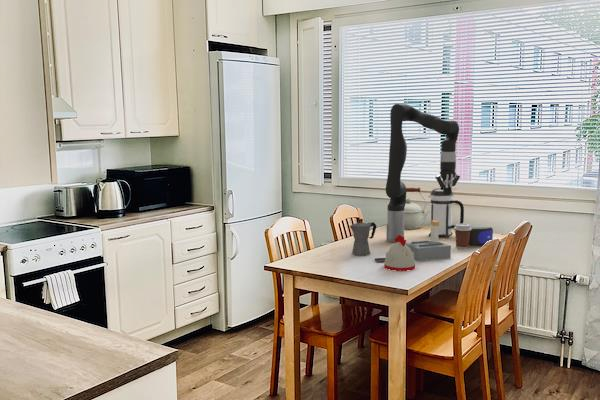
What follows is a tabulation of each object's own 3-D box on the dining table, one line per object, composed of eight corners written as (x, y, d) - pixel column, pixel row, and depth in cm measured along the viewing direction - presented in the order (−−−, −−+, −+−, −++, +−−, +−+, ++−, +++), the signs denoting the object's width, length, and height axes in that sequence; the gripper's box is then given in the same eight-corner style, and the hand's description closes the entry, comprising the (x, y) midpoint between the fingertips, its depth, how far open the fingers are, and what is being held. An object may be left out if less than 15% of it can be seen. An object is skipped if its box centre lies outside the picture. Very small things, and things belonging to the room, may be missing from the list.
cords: (376, 262, 272) (376, 260, 271) (374, 260, 276) (374, 258, 275) (410, 261, 274) (410, 258, 274) (407, 258, 278) (407, 256, 278)
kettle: (389, 229, 351) (390, 189, 348) (390, 224, 369) (390, 185, 366) (431, 230, 347) (432, 189, 344) (429, 224, 365) (430, 186, 362)
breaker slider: (434, 241, 287) (435, 220, 286) (440, 243, 282) (441, 221, 280) (427, 242, 286) (428, 220, 284) (433, 244, 281) (434, 222, 279)
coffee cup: (456, 244, 308) (457, 222, 306) (473, 246, 303) (474, 224, 301) (450, 247, 301) (451, 225, 299) (467, 249, 295) (468, 227, 294)
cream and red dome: (395, 272, 254) (395, 239, 252) (378, 265, 266) (379, 234, 264) (421, 269, 259) (421, 236, 257) (403, 262, 272) (404, 231, 270)
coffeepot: (354, 257, 282) (354, 221, 280) (345, 253, 291) (345, 218, 288) (381, 254, 289) (381, 218, 286) (371, 250, 297) (371, 216, 295)
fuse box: (435, 251, 293) (435, 238, 292) (450, 257, 280) (451, 243, 279) (403, 254, 288) (404, 240, 287) (417, 260, 274) (418, 246, 273)
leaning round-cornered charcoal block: (465, 246, 303) (466, 229, 302) (462, 244, 307) (462, 227, 306) (495, 245, 305) (495, 228, 303) (491, 243, 309) (492, 226, 308)
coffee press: (435, 239, 322) (437, 186, 317) (423, 233, 337) (424, 183, 333) (463, 237, 326) (465, 185, 321) (450, 232, 341) (451, 182, 337)
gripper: (455, 159, 294) (454, 193, 296) (432, 160, 289) (431, 194, 292) (464, 160, 286) (463, 195, 289) (440, 161, 282) (439, 196, 285)
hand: (447, 194), depth 290 cm, fingers closed
